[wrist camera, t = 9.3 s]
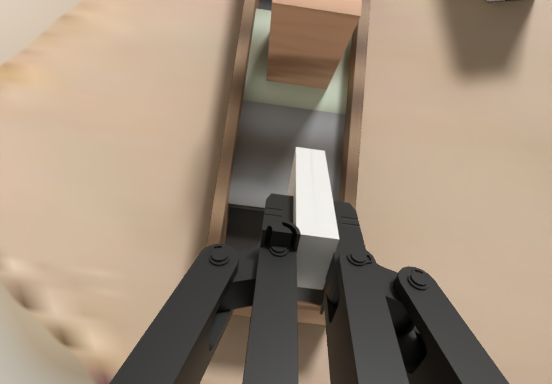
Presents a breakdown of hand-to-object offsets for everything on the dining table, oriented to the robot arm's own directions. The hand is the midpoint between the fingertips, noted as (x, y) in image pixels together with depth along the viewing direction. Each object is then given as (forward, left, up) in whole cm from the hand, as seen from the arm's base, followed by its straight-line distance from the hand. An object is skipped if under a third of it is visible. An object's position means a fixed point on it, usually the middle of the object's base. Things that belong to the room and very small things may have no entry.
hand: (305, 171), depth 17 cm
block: (+13, -7, -12) cm, 19 cm away
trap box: (+8, -5, -15) cm, 18 cm away
